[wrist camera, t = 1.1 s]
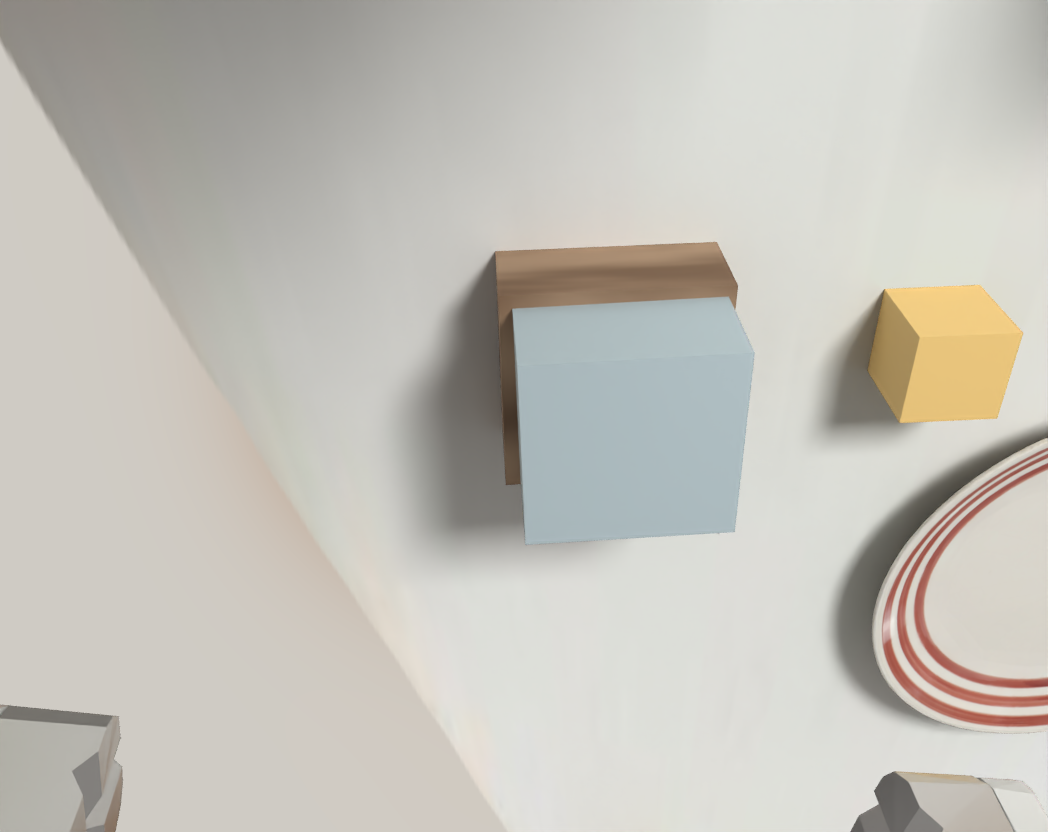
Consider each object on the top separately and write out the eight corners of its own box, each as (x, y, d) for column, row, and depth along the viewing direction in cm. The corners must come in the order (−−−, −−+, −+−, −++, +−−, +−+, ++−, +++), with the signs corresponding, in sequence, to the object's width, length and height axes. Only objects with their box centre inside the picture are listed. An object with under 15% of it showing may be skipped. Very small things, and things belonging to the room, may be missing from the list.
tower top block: (512, 308, 46) (517, 366, 42) (728, 296, 46) (754, 352, 42) (520, 479, 52) (525, 544, 48) (713, 467, 52) (734, 532, 48)
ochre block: (883, 288, 52) (919, 337, 48) (979, 284, 52) (1023, 332, 48) (866, 369, 55) (899, 422, 51) (957, 365, 55) (997, 418, 51)
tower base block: (495, 248, 50) (498, 296, 46) (715, 239, 50) (738, 285, 46) (502, 428, 56) (506, 484, 52) (698, 419, 57) (716, 474, 52)
